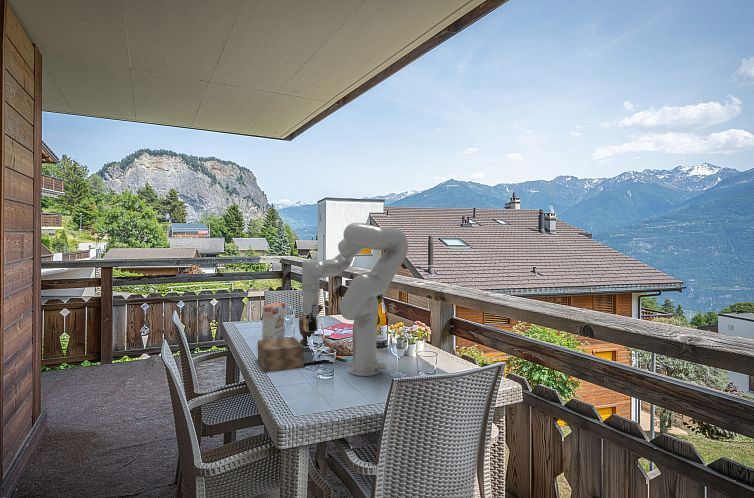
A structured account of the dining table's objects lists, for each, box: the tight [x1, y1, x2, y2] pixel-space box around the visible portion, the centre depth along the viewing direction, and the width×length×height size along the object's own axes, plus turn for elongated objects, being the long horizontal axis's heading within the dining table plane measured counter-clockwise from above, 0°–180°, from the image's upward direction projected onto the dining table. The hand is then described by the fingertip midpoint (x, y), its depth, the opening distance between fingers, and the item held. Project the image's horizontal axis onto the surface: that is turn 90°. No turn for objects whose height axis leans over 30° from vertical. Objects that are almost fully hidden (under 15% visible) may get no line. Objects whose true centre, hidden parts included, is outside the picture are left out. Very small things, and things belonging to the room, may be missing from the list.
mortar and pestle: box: [298, 304, 324, 347], centre depth 217 cm, size 12×9×20 cm
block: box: [303, 318, 319, 332], centre depth 187 cm, size 5×5×5 cm
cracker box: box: [261, 302, 286, 340], centre depth 211 cm, size 14×6×21 cm, turn 168°
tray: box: [304, 334, 335, 364], centre depth 187 cm, size 16×18×8 cm
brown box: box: [257, 336, 305, 373], centre depth 182 cm, size 16×18×9 cm
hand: (310, 329), depth 188 cm, fingers closed on block, 4 cm apart
